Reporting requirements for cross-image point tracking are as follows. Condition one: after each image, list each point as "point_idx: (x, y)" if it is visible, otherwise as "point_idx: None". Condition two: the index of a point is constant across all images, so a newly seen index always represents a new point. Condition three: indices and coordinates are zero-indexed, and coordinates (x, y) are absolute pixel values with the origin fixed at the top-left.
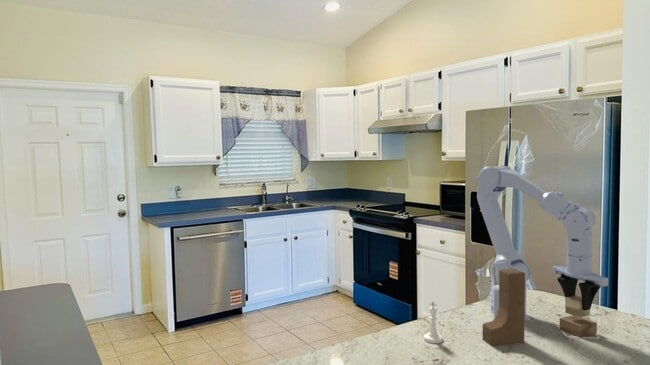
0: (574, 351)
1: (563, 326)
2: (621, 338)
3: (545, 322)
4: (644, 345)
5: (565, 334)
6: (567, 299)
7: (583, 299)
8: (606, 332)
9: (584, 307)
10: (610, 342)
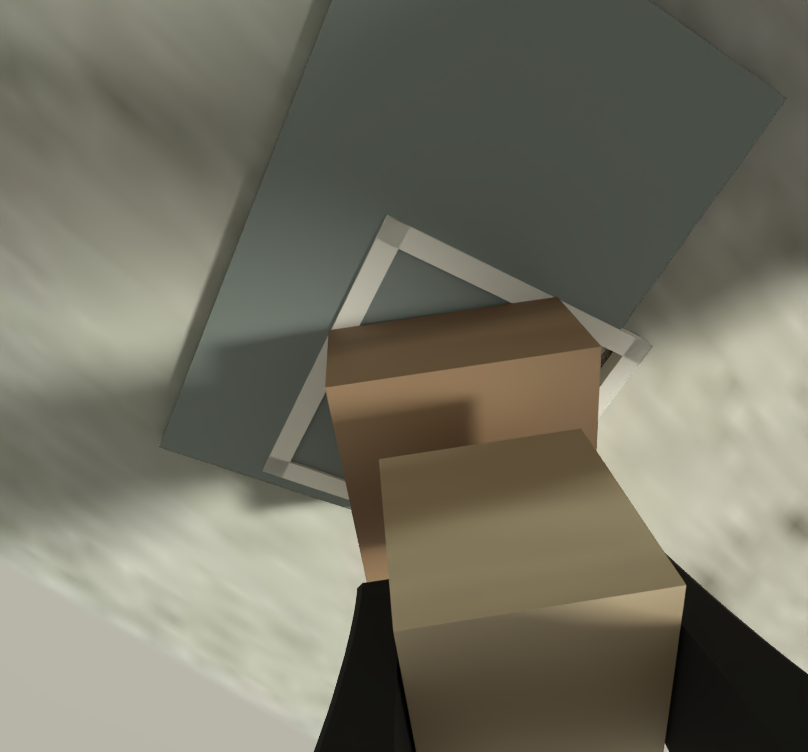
0: (58, 29)
1: (524, 321)
2: (279, 602)
3: (763, 321)
4: (144, 641)
5: (433, 255)
6: (629, 576)
7: (359, 730)
8: None
9: (357, 613)
10: (226, 498)
